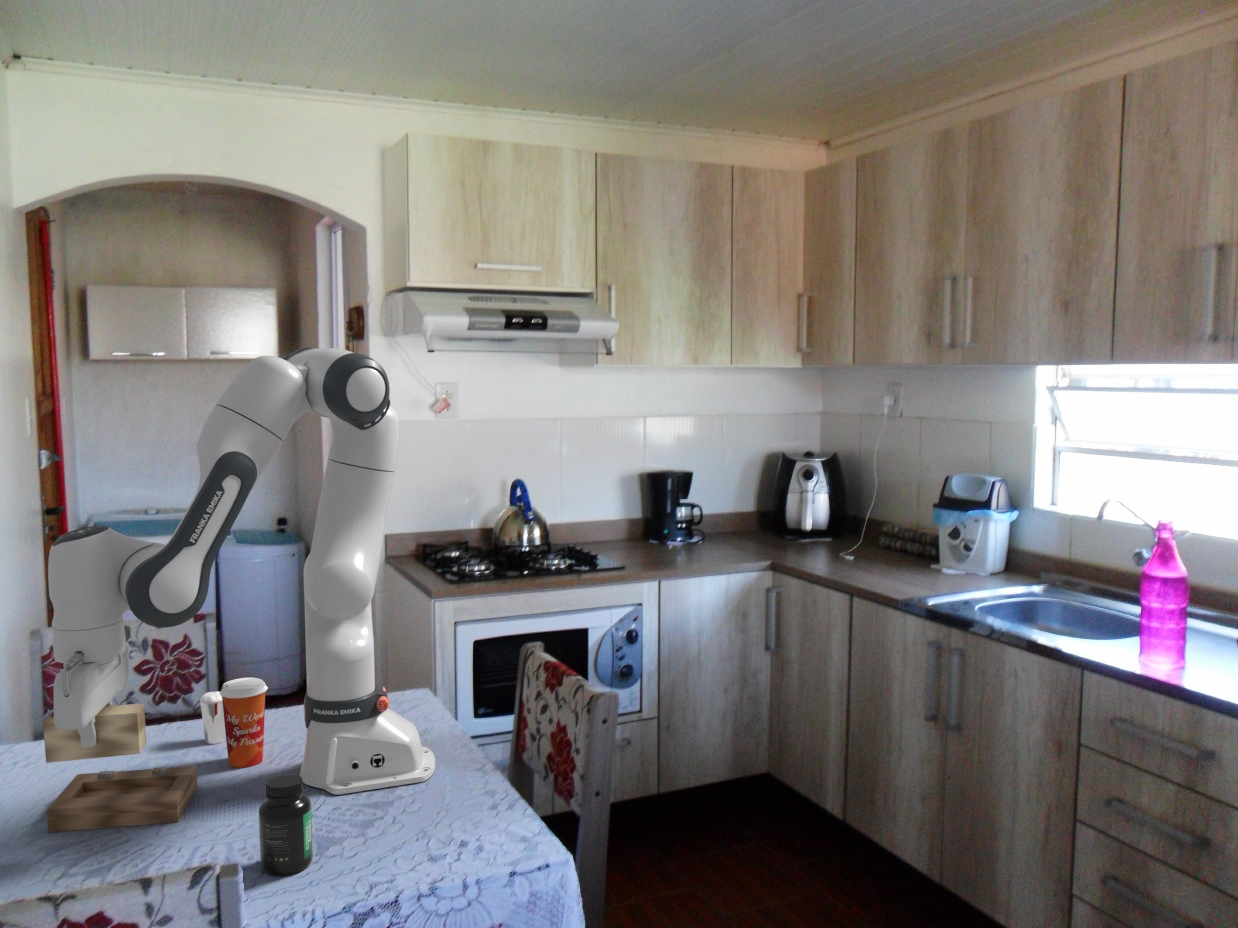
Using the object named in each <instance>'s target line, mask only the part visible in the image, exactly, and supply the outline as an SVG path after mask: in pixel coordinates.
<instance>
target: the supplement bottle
mask: <svg viewBox="0 0 1238 928" xmlns="http://www.w3.org/2000/svg"><path fill="white" fill-rule="evenodd" d="M264 795H265V799H264V800H263V801H262V802H261V804H260V806H259V809H258V828H259V829H258V830H259V854H260V855H259V857H260V867H261V870H262V871H263V872H264V873H265V874H267V875H270V876H276V877H282V876H284V877H286V876H290V875H294V874H299V873H300V872H302V871H304V870H305V869H307V868H308V867H309V866H310V865H311V863H312V862H313V855H314V853H313V851H314V849H313V848H314V847H313V824H312V823H313V821H312V802H311V800H310V798H309V797H308V796H307V795H305V794H304V782H303V780H302V777H301V776H299V774H292V773H287V774H281V775H280V774H279V775H276V776H273V777H271V778H270V779H268V780H266V782H265V793H264Z"/></svg>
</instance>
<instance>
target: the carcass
mask: <svg viewBox="0 0 1238 928" xmlns="http://www.w3.org/2000/svg"><path fill="white" fill-rule="evenodd" d="M198 786H199V785H198V766H197V765H191V766H177V767H176V766H175V767H167V766H160V767H153V768H148V769H135V770H133V769H132V770H120V771H119V770H117V771H114V770H103V771H101V770H100V771H98V772H92V773H77V774H76V775H75V776H74V777H73V779H71V781H70V782H69V783H68V784H67V786H66V787H65V788H64V789H63V790H62V791H61V793H60V794H59V795H58V796H57V797H56V798H55V800H54V801H52V803H51V804H50V805H49V806H48V808H47V809H46V819H47V821H46V822H47V833H55V832H56V833H57V832H58V833H59V832H69V831H80V830H81V831H82V830H83V831H84V830H94V829H97V830H98V829H106V828H107V829H108V828H120V827H131V826H132V827H133V826H144V825H157V824H158V825H159V824H169V823H178V822H179V821H180V820H181V818H182V815H184V812H185V810H186V808H187V807H188V805H189V803H190V801H191V799H192V798H193V795H194V794H195V792H196V791H197V789H198Z"/></svg>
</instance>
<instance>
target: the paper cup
mask: <svg viewBox="0 0 1238 928" xmlns="http://www.w3.org/2000/svg"><path fill="white" fill-rule="evenodd" d="M268 689H269V687H268V686H267V685H266V682H265V681H264V680H263V679H261V678H258V677H241V678H236V679H235V678H234V679H231V680H229V681H226V682H224V683H223V684H222V687H221V689H220V691H219V692H220V695H221V696H222V702H223V712H224V722H225V740H226V741H225V742H226V750H227V752H226V753H227V757H228V764H229V766H231V767H232V768H238V769H241V768H242V769H243V768H244V769H245V768H249V767H250V768H251V767H254V766H257V765H259V764H261V763H262V761H263V760H264V746H265V741H264V740H265V711H266V710H265V709H266V703H265V702H266V692H267V690H268Z"/></svg>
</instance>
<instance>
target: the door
mask: <svg viewBox="0 0 1238 928" xmlns="http://www.w3.org/2000/svg"><path fill="white" fill-rule="evenodd" d="M145 714H146V713H145V703H144V702H142V703H130V704H119V705H112V706H106V707H104V708H103V709H102V710H101V711H100V712H99V713H98V714H97V715H96V716H95V722H94V726H95V731H98V742H97V743H96V744H95V746H93V747H86V748H84V747H82V746H81V737H80V735H79V733H78V731H77V729H76V730H64V731H60V730H58V729H57V728H56V726H55V723H54V710H53V711H52V710H51V712H50V713H49V714H48V715H47V716H46V717H45V718H44V719H43V720H42V726H43V727H42V728H43V730H42V731H43V740H44V750H45V751H44V753H45V764H50V763H59V762H68V761H70V762H71V761H79V760H89V759H91V760H92V759H99V758H110V757H121V756H129V755H130V756H131V755H139V754H141V753H142V751H143V750H144V748H145V746H146V745H147V744H148V743H147V730H146V728H147V727H146V715H145Z"/></svg>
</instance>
